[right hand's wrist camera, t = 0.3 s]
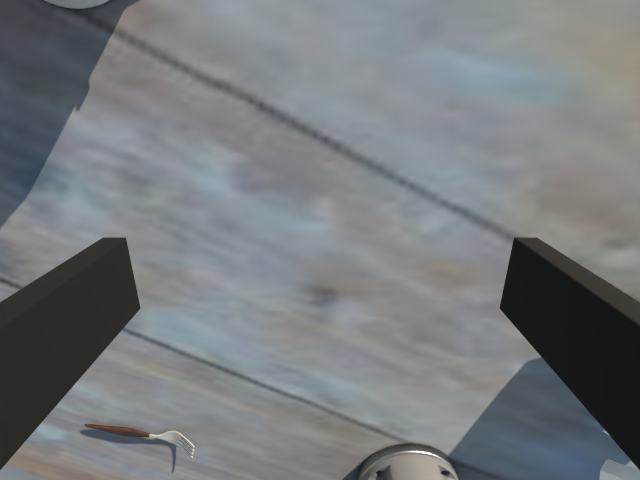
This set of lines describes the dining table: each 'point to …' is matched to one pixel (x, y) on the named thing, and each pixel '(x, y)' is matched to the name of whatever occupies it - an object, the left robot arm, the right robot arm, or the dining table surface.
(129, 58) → the dining table surface
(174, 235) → the dining table surface
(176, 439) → the fork
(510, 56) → the dining table surface
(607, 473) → the white plastic object
